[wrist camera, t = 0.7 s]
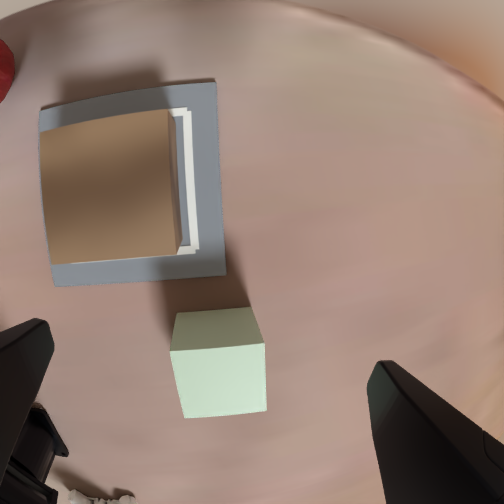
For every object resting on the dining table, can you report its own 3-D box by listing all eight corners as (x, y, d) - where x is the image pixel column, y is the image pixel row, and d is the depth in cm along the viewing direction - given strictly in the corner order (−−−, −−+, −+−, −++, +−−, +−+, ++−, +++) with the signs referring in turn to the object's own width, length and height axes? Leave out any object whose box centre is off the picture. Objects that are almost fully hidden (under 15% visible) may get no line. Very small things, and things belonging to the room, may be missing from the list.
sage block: (254, 366, 22) (266, 410, 17) (187, 372, 21) (184, 418, 16) (251, 306, 21) (264, 343, 16) (176, 312, 20) (169, 351, 15)
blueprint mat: (226, 273, 20) (226, 275, 19) (57, 284, 18) (54, 287, 18) (216, 84, 17) (216, 81, 16) (41, 112, 15) (38, 111, 15)
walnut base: (182, 238, 18) (176, 254, 15) (78, 248, 18) (51, 264, 14) (175, 123, 17) (167, 108, 13) (69, 139, 16) (39, 132, 12)
